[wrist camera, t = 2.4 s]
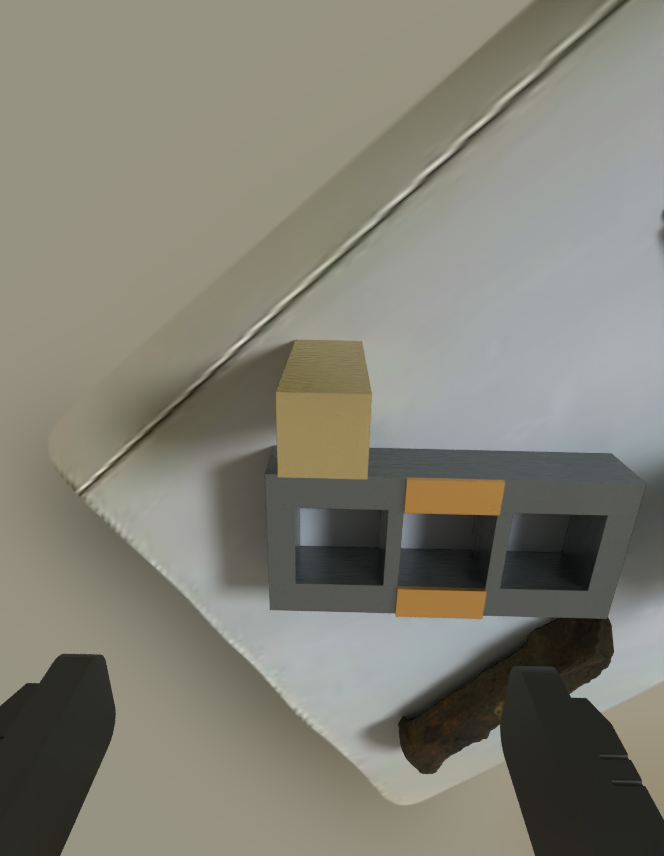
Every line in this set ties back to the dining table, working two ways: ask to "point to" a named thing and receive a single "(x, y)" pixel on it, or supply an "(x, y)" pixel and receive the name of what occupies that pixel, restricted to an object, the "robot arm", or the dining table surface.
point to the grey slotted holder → (488, 558)
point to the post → (324, 411)
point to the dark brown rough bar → (505, 689)
